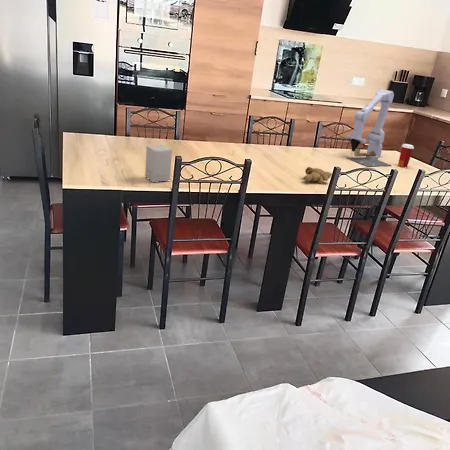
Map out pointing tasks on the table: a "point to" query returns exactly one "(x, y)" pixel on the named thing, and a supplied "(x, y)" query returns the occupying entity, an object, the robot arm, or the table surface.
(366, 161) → the plate
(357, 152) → the lever
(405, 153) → the paper cup
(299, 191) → the table surface
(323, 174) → the ginger root
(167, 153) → the supplement box
